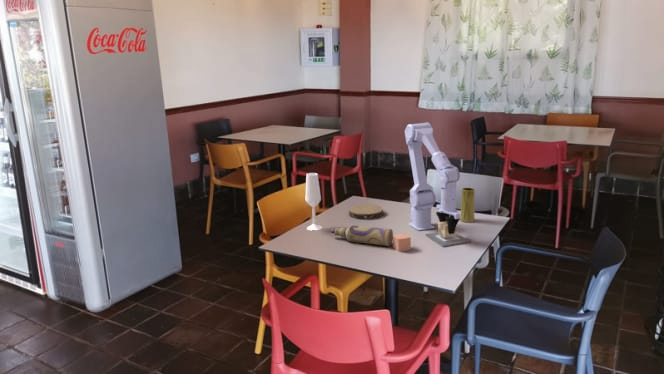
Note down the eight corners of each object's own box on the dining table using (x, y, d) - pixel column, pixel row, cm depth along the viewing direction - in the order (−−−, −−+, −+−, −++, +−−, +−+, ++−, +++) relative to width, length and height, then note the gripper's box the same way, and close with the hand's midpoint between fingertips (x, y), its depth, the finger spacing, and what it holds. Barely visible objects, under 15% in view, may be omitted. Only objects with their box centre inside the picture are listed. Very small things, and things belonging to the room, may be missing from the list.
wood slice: (388, 212, 239) (388, 206, 239) (373, 222, 226) (373, 215, 226) (359, 208, 248) (359, 202, 247) (342, 217, 235) (342, 211, 234)
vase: (464, 223, 219) (465, 191, 216) (457, 219, 225) (458, 188, 222) (477, 221, 221) (478, 189, 217) (469, 217, 227) (470, 186, 223)
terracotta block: (392, 247, 195) (392, 235, 194) (404, 245, 196) (404, 233, 195) (398, 251, 190) (398, 239, 189) (410, 250, 192) (410, 237, 191)
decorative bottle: (394, 242, 200) (394, 226, 198) (387, 249, 194) (387, 232, 192) (336, 234, 212) (335, 219, 210) (327, 240, 205) (327, 224, 203)
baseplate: (425, 235, 206) (425, 233, 206) (451, 231, 210) (451, 229, 210) (443, 247, 193) (443, 245, 193) (470, 242, 197) (470, 240, 197)
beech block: (438, 234, 203) (438, 222, 201) (449, 232, 204) (449, 220, 203) (444, 238, 198) (444, 225, 197) (455, 236, 199) (456, 224, 198)
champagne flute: (323, 225, 223) (320, 172, 218) (321, 230, 217) (318, 175, 211) (307, 225, 224) (305, 172, 218) (305, 230, 218) (302, 176, 212)
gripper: (429, 195, 203) (429, 227, 206) (449, 204, 189) (448, 238, 193) (445, 193, 205) (444, 224, 208) (465, 201, 192) (464, 236, 195)
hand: (447, 231), depth 201 cm, fingers closed on beech block, 5 cm apart
